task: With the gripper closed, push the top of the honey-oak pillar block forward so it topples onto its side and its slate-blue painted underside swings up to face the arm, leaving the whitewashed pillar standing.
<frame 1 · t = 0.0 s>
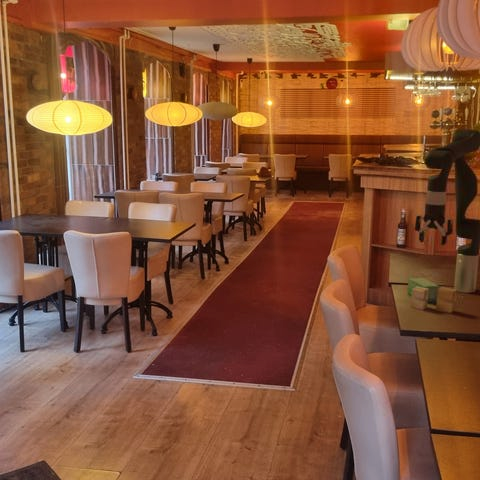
hand: (432, 243, 239), 29 cm above the table, fingers open, 8 cm apart
oak pillar: (445, 310, 250), on the table
box: (422, 298, 267), on the table
birch pillar: (418, 307, 254), on the table
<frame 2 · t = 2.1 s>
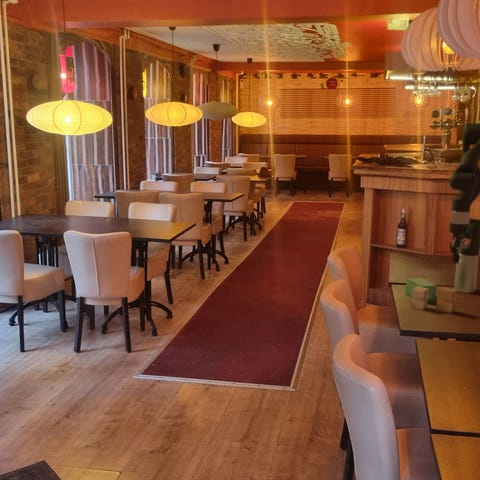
hand: (455, 262, 252), 19 cm above the table, fingers closed
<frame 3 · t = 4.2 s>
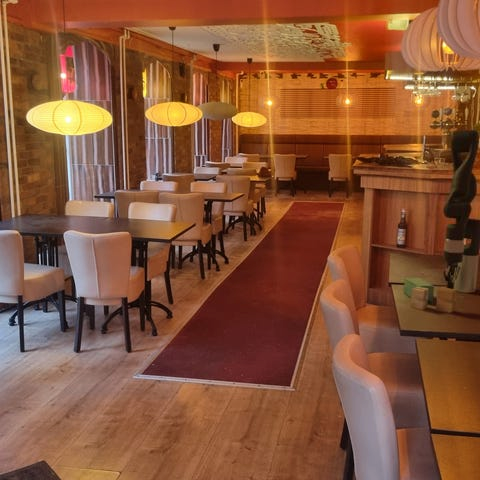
hand: (450, 290, 251), 8 cm above the table, fingers closed
oak pillar: (445, 310, 250), on the table, touching gripper
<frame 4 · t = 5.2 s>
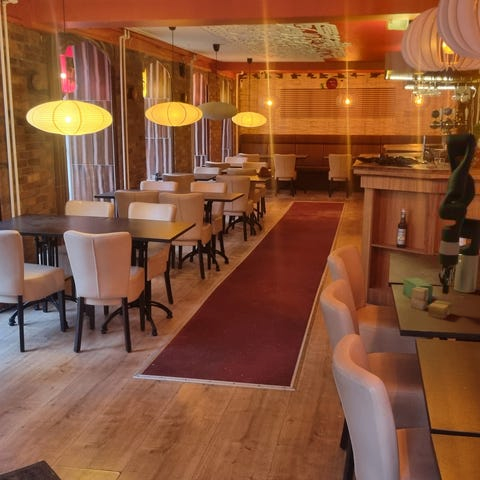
hand: (445, 293, 247), 8 cm above the table, fingers closed
oak pillar: (443, 306, 248), point 2 cm above the table, tilted 90°
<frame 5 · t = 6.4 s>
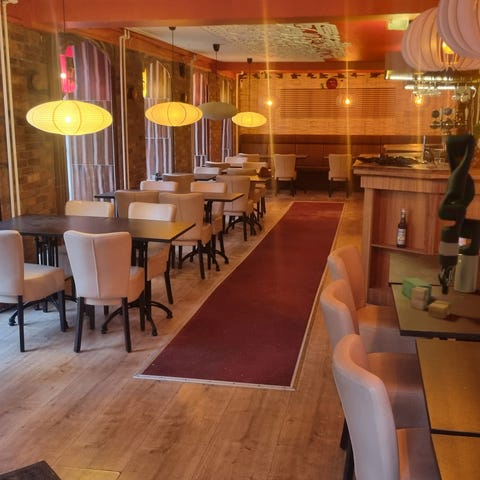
hand: (444, 294, 247), 7 cm above the table, fingers closed
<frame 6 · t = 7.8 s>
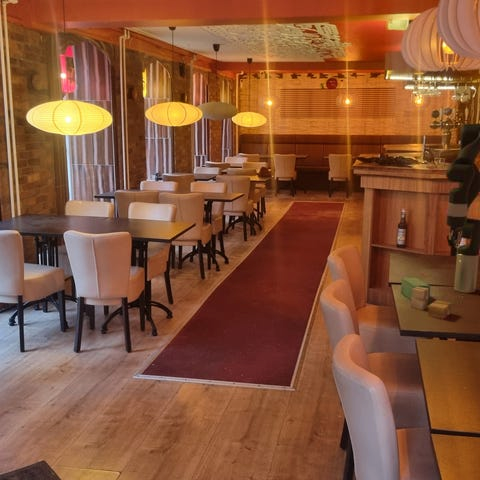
hand: (453, 255, 248), 22 cm above the table, fingers closed
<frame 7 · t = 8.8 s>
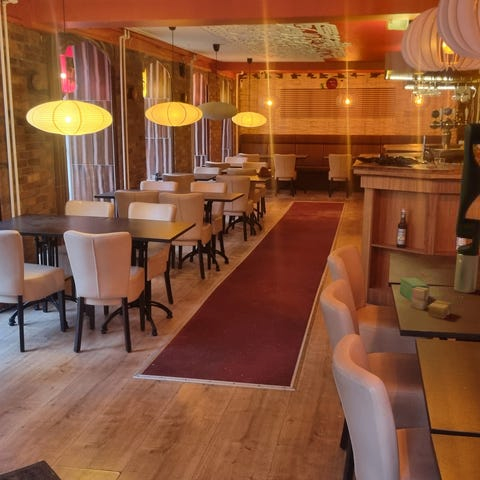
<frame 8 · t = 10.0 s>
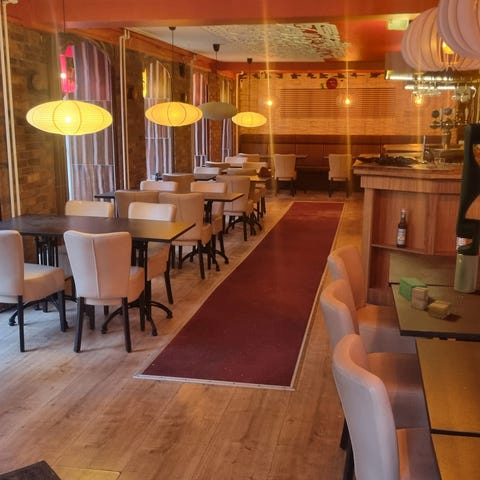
at the end: oak pillar tilted 90°; oak pillar inside the target area (5.8 cm from its centre), point 2.2 cm above the table; birch pillar tilted 0° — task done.
